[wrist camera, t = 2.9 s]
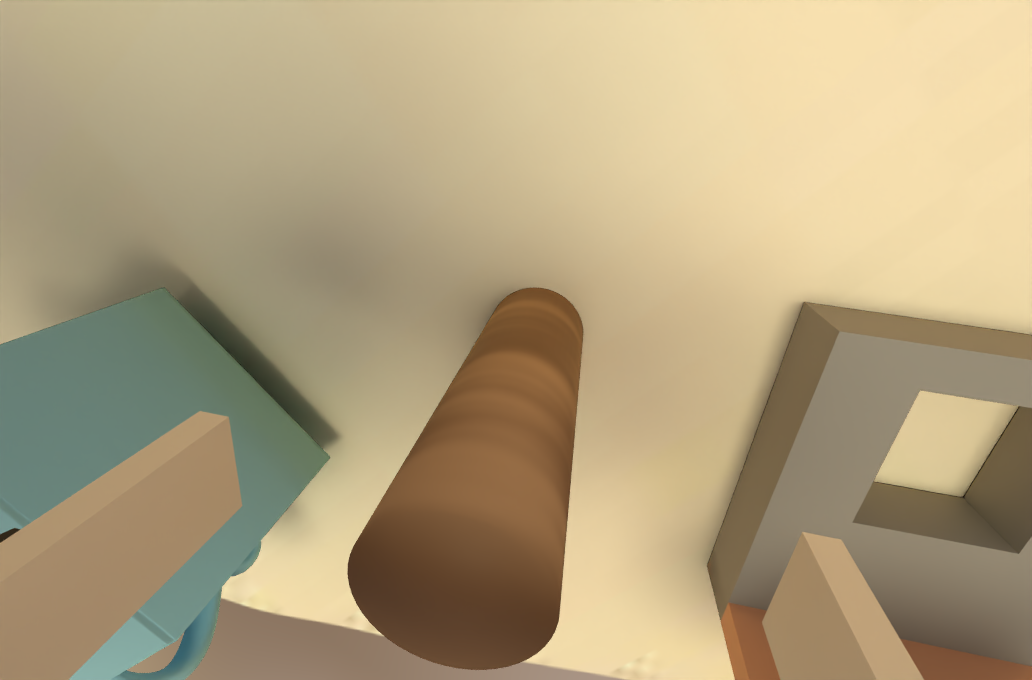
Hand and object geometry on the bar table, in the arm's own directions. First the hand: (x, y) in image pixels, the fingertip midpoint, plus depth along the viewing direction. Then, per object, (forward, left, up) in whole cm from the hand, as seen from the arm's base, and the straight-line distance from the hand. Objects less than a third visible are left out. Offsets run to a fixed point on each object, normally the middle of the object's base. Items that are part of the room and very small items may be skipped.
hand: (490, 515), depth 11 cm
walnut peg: (0, 0, -11) cm, 11 cm away
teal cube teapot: (+10, -19, -11) cm, 24 cm away
